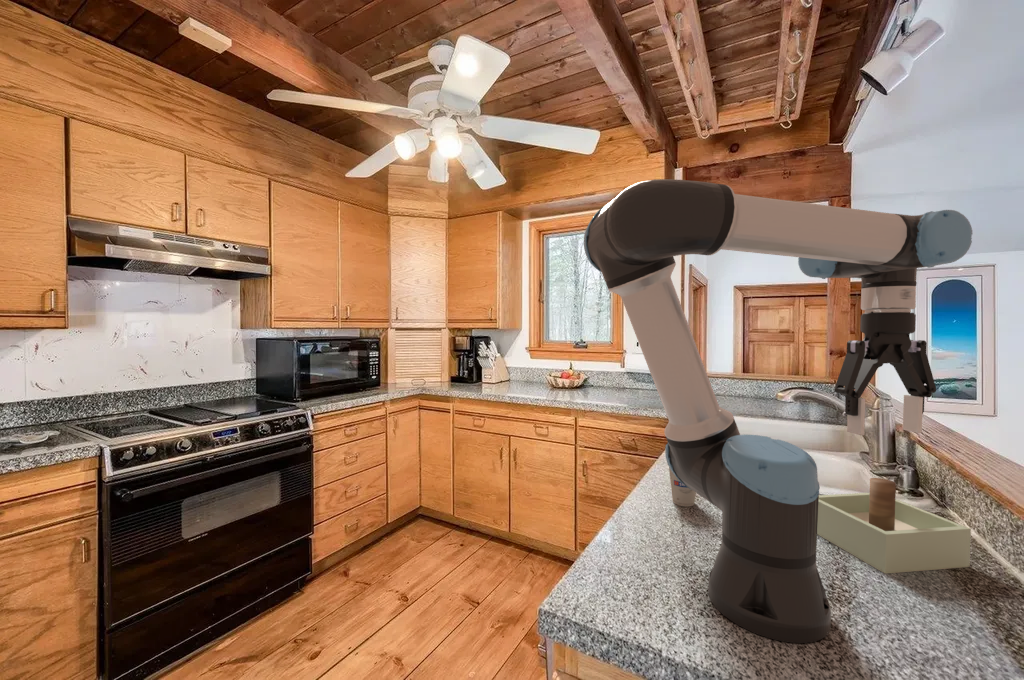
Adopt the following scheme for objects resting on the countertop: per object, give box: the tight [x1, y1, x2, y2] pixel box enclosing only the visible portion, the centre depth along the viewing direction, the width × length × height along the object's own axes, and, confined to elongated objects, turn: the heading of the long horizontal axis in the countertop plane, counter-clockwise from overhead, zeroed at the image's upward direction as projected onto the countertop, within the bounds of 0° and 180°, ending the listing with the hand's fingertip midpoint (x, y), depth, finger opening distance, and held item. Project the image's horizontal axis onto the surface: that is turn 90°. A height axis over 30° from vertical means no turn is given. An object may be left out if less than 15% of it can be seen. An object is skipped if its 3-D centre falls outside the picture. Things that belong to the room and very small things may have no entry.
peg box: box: [817, 492, 972, 575], centre depth 79 cm, size 16×16×6 cm
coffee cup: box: [668, 467, 697, 508], centre depth 99 cm, size 7×7×10 cm
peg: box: [869, 477, 897, 531], centre depth 79 cm, size 4×4×12 cm
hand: (884, 432), depth 79 cm, fingers open, 11 cm apart
